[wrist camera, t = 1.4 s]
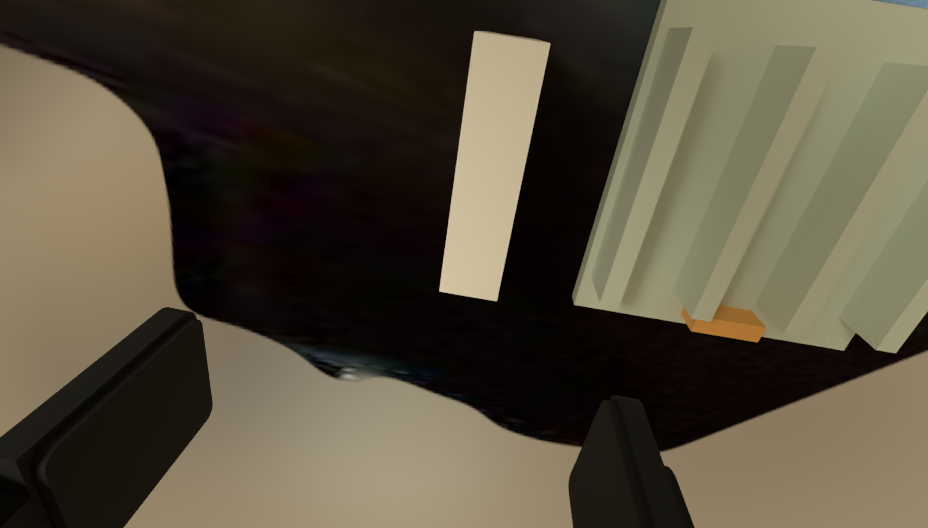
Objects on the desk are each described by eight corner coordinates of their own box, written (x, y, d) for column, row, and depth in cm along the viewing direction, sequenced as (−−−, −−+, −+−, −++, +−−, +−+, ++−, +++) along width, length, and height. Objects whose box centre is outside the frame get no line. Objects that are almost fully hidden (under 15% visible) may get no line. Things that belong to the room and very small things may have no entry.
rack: (669, -28, 23) (703, -41, 19) (1037, 30, 23) (1153, 30, 19) (571, 295, 33) (580, 334, 28) (832, 340, 32) (880, 385, 28)
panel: (485, 31, 25) (474, 31, 17) (538, 39, 25) (550, 43, 17) (457, 224, 31) (439, 291, 23) (500, 231, 31) (496, 301, 23)
